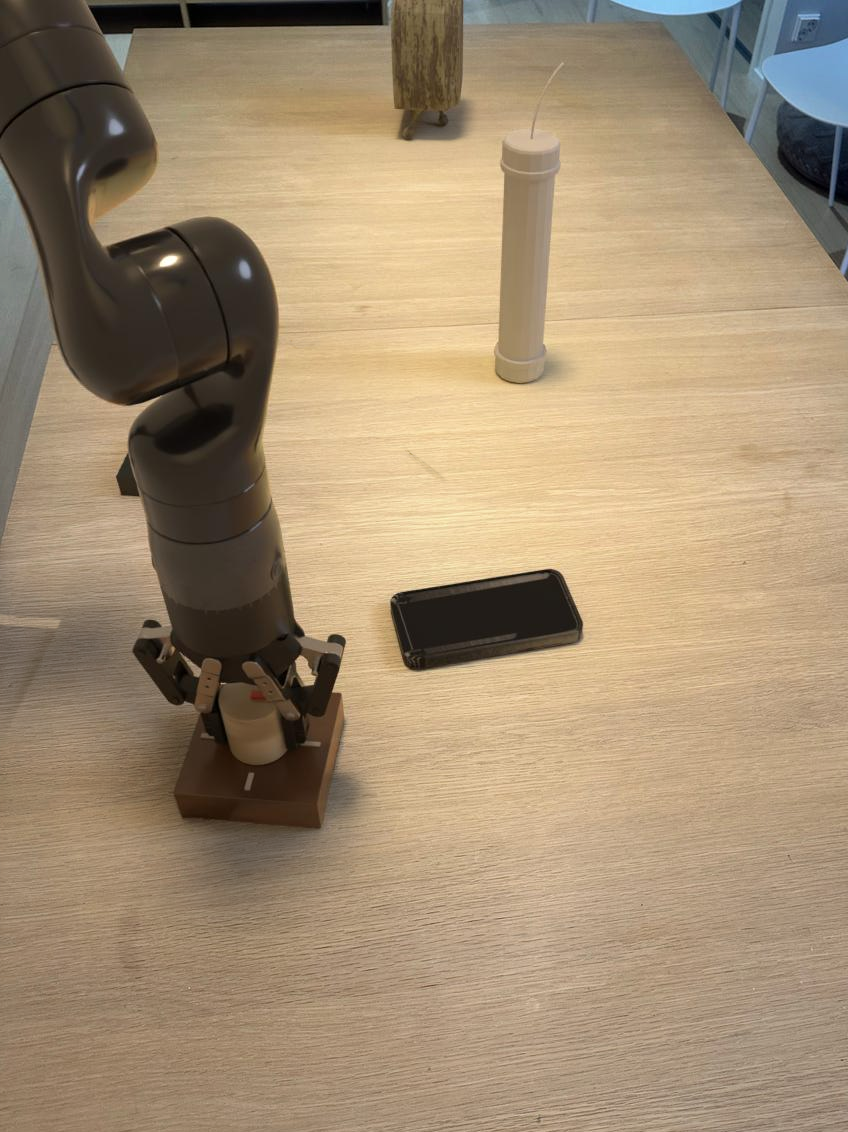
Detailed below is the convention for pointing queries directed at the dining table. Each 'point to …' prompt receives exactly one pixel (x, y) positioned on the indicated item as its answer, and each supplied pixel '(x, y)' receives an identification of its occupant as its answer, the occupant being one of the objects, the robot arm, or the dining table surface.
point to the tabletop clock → (426, 56)
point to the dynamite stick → (525, 249)
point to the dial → (251, 724)
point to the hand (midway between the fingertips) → (259, 736)
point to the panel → (262, 777)
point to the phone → (484, 618)
